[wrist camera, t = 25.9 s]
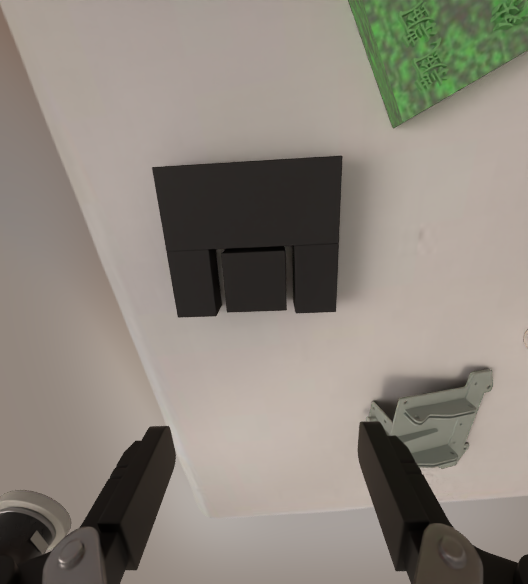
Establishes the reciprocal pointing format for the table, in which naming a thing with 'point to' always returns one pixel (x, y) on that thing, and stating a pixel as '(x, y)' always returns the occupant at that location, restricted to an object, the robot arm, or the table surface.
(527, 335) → the tube
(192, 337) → the table surface
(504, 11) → the green jade tablet
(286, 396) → the table surface
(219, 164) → the black flat notched block
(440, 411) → the metal bracket
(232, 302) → the small black block
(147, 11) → the table surface
